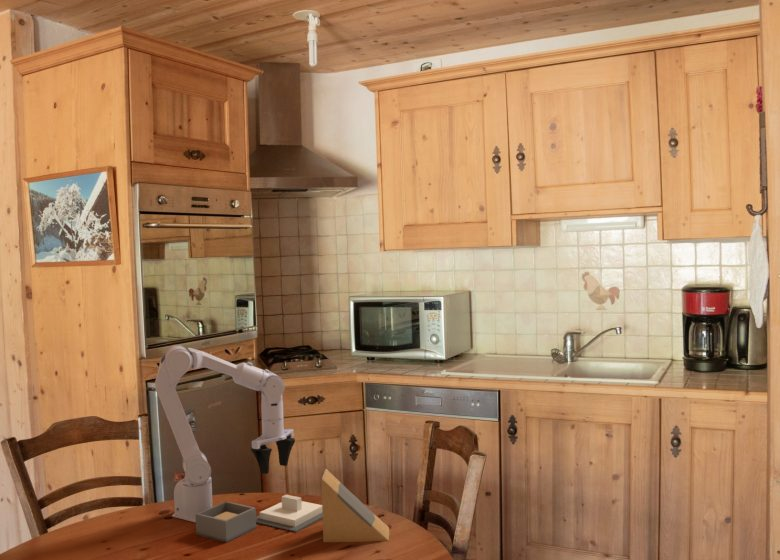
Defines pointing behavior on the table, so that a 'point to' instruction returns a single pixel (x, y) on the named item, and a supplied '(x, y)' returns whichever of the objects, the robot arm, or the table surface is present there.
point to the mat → (287, 527)
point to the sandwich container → (347, 515)
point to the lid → (291, 511)
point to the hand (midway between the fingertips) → (274, 469)
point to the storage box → (225, 521)
